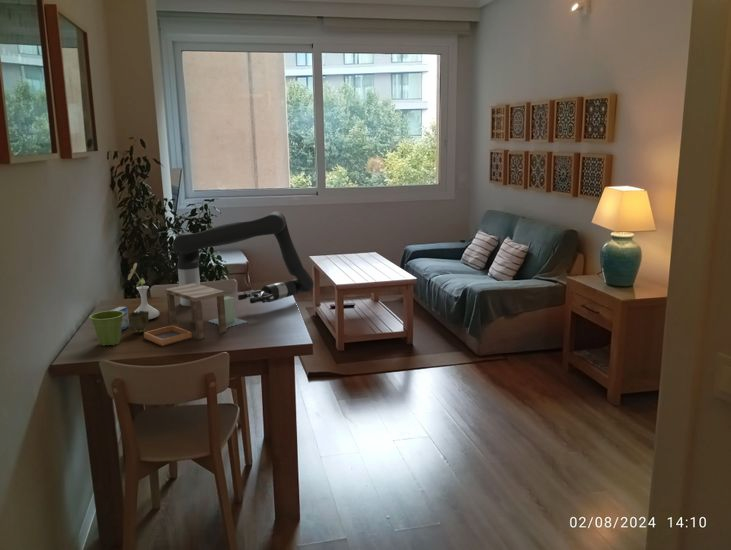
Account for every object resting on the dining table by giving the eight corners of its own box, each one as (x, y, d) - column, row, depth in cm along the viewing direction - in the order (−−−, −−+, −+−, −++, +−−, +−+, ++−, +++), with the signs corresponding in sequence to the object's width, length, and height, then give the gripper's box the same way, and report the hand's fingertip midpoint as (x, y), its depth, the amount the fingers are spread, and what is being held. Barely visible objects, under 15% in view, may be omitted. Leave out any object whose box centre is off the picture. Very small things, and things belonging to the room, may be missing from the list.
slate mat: (207, 321, 250) (207, 320, 249) (228, 316, 257) (228, 315, 257) (227, 328, 240) (227, 327, 240) (247, 322, 247) (247, 321, 247)
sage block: (219, 321, 248) (217, 298, 246) (228, 318, 251) (227, 295, 249) (226, 323, 245) (224, 299, 243) (235, 320, 248) (233, 297, 246)
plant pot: (115, 349, 218) (112, 319, 216) (86, 348, 221) (82, 318, 218) (133, 338, 230) (130, 310, 227) (105, 337, 232) (101, 309, 229)
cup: (135, 329, 242) (133, 310, 240) (153, 329, 241) (151, 310, 240) (127, 335, 234) (125, 315, 233) (146, 335, 234) (143, 315, 232)
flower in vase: (141, 314, 263) (135, 258, 258) (165, 315, 261) (159, 259, 255) (123, 323, 251) (117, 264, 245) (148, 324, 248) (142, 265, 243)
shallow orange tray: (144, 338, 230) (143, 332, 229) (172, 331, 238) (172, 325, 238) (162, 346, 220) (162, 340, 220) (191, 338, 229) (191, 332, 228)
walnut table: (168, 328, 241) (164, 289, 238) (197, 321, 250) (193, 283, 247) (198, 340, 226) (194, 297, 223) (227, 331, 236) (224, 291, 232)
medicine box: (118, 333, 237) (116, 312, 236) (108, 332, 238) (105, 311, 236) (130, 327, 245) (127, 306, 243) (120, 326, 246) (117, 306, 244)
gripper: (264, 281, 269) (233, 288, 257) (284, 286, 259) (254, 293, 248) (265, 297, 270) (235, 305, 259) (285, 302, 261) (255, 311, 249)
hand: (244, 299), depth 253 cm, fingers open, 8 cm apart
